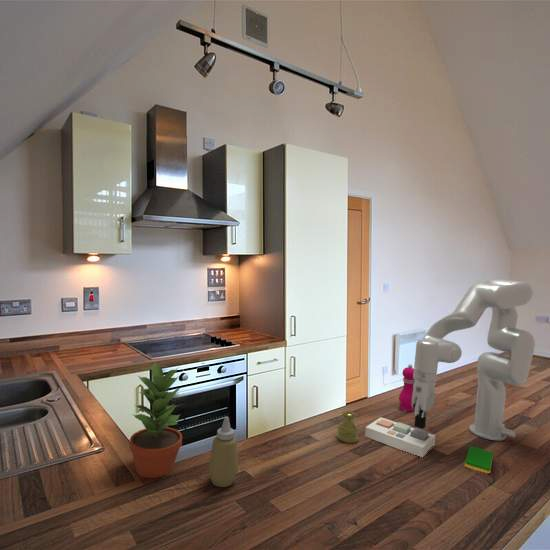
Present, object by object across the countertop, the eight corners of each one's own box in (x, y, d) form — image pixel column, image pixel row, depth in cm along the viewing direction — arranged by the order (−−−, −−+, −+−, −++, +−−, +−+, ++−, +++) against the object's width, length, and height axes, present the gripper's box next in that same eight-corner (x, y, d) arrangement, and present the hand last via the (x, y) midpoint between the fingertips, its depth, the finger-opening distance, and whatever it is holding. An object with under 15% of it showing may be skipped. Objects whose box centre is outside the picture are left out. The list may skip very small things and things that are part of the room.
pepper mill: (412, 413, 168) (416, 367, 167) (395, 408, 173) (399, 363, 172) (417, 409, 174) (421, 364, 173) (401, 404, 178) (405, 361, 177)
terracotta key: (392, 430, 147) (393, 422, 147) (387, 434, 143) (388, 426, 143) (381, 426, 150) (382, 419, 150) (376, 430, 146) (376, 422, 146)
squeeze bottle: (213, 493, 103) (217, 425, 102) (203, 476, 110) (207, 413, 109) (241, 486, 107) (246, 421, 106) (230, 471, 114) (235, 410, 113)
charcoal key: (428, 440, 139) (428, 432, 139) (423, 444, 135) (424, 436, 135) (415, 435, 142) (415, 427, 141) (410, 439, 138) (411, 431, 138)
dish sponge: (492, 459, 133) (493, 452, 133) (489, 477, 122) (490, 469, 122) (469, 452, 137) (470, 445, 137) (464, 469, 126) (465, 461, 125)
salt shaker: (334, 440, 138) (336, 412, 138) (339, 432, 145) (341, 405, 145) (355, 445, 135) (357, 417, 135) (359, 437, 142) (361, 409, 142)
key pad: (434, 445, 140) (435, 434, 140) (422, 457, 130) (422, 446, 130) (380, 426, 153) (381, 416, 153) (364, 436, 143) (365, 426, 143)
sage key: (410, 433, 143) (410, 426, 143) (405, 437, 139) (406, 429, 139) (397, 429, 146) (398, 422, 146) (392, 433, 142) (393, 425, 142)
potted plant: (153, 490, 103) (160, 376, 101) (116, 469, 111) (122, 364, 109) (194, 466, 115) (200, 365, 114) (158, 449, 123) (163, 355, 122)
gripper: (428, 382, 129) (423, 437, 130) (442, 374, 141) (437, 424, 141) (406, 376, 134) (401, 429, 135) (421, 369, 145) (416, 418, 146)
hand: (419, 427), depth 138 cm, fingers closed
